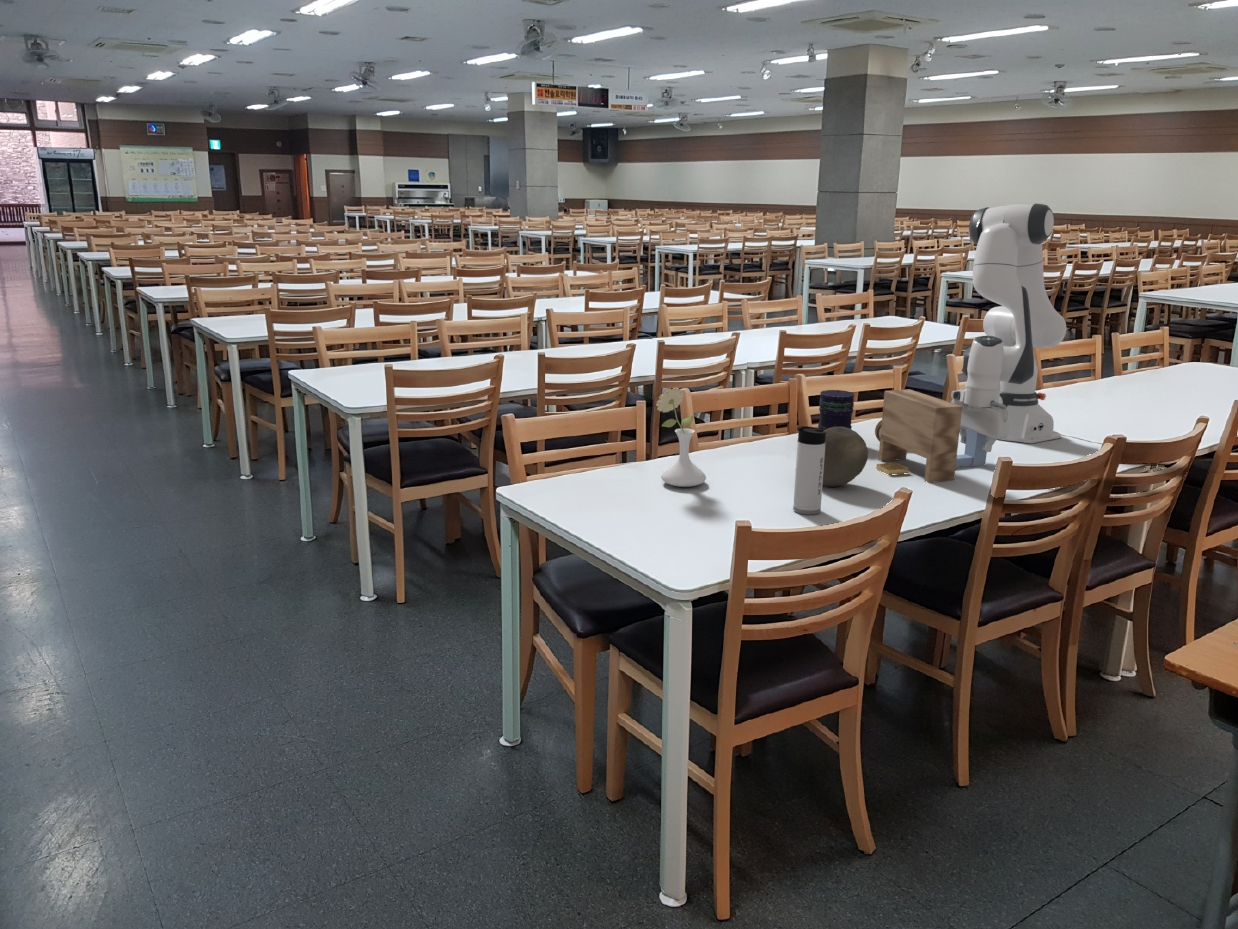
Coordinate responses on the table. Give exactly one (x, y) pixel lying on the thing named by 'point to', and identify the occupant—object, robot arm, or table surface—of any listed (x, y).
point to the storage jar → (835, 409)
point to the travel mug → (809, 470)
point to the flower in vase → (683, 468)
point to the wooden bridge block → (921, 431)
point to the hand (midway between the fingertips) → (975, 447)
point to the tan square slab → (892, 468)
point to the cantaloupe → (843, 456)
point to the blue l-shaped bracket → (973, 450)
